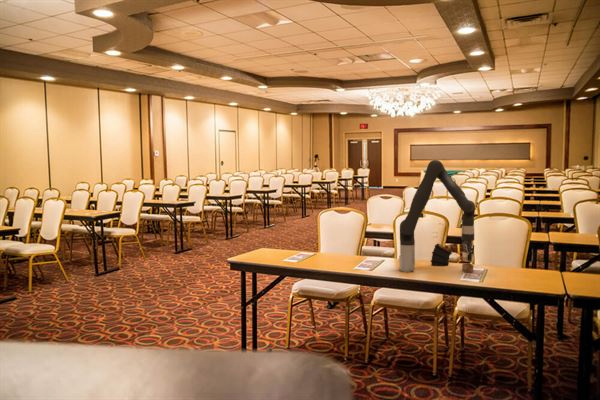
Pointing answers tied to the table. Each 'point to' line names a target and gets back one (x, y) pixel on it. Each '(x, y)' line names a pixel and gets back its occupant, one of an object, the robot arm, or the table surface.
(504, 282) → the table surface
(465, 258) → the maple block
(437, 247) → the black ridged slab
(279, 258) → the table surface
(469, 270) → the walnut block
